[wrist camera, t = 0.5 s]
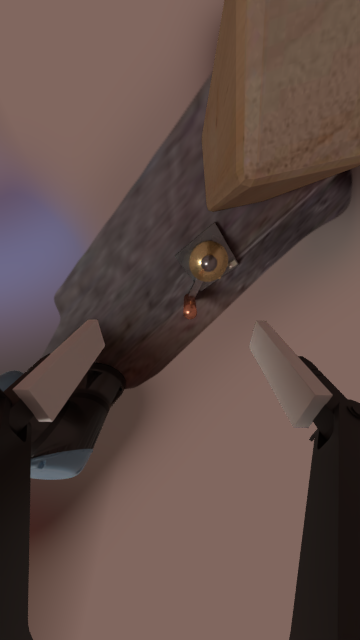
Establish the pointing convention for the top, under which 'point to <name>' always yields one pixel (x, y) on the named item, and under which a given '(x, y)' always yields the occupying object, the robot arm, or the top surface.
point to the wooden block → (281, 99)
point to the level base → (207, 235)
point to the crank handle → (204, 270)
